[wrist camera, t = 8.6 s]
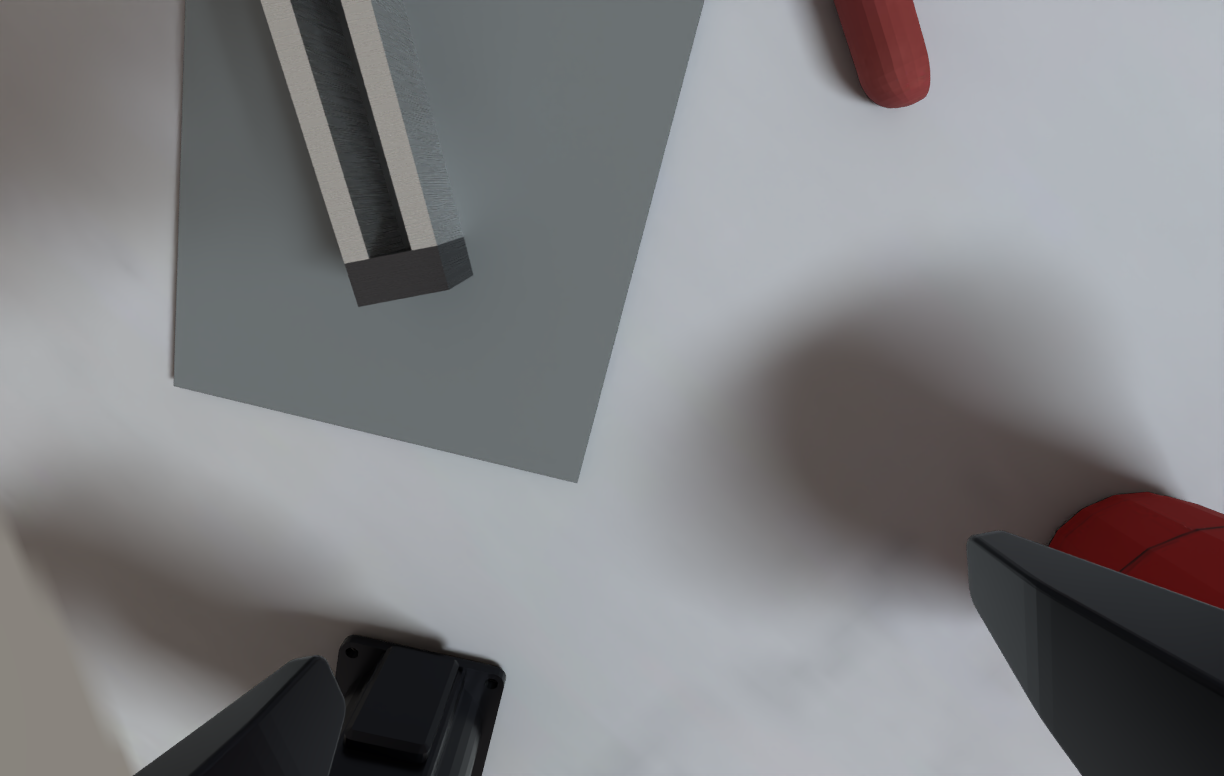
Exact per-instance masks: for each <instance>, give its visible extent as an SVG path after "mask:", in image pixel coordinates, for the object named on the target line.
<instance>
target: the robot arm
mask: <svg viewBox="0 0 1224 776" xmlns="http://www.w3.org/2000/svg"><path fill="white" fill-rule="evenodd" d="M967 562H968V577H969V589H970V594H971V598H972V601H973V603H974V605H975V607H976V609H977V611H978V613H979V615H980V616H981V618H982V620H983V621H984V623H985V625H986V626H987V628H988V630H989V632H990V633H991V635H992V637H993V638H994V640H995V642H996V644H997V645H998V647H999V649H1000V650H1001V652H1002V654H1003V656H1004V657H1005V659H1006V661H1007V662H1008V664H1009V666H1010V668H1011V669H1012V671H1013V673H1014V674H1015V676H1016V678H1017V680H1018V681H1019V683H1020V685H1021V686H1022V688H1023V690H1024V692H1025V693H1026V695H1027V697H1028V698H1029V700H1030V702H1031V703H1032V705H1033V706H1034V708H1035V710H1036V711H1037V713H1038V715H1039V716H1040V718H1041V719H1042V721H1043V722H1044V724H1045V725H1046V726H1047V728H1048V729H1049V731H1050V732H1051V734H1052V735H1053V736H1054V738H1055V739H1056V741H1057V742H1058V743H1059V745H1060V746H1061V747H1062V749H1063V750H1064V752H1065V753H1066V754H1067V756H1068V757H1069V758H1070V760H1071V761H1072V763H1073V764H1074V765H1075V767H1076V768H1077V769H1078V771H1079V772H1080V774H1081V775H1082V776H1224V610H1223V609H1221V608H1218V607H1215V606H1212V605H1209V604H1207V603H1204V602H1201V601H1198V600H1195V599H1193V598H1190V597H1187V596H1184V595H1181V594H1179V593H1176V592H1173V591H1170V590H1167V589H1165V588H1162V587H1159V586H1156V585H1153V584H1151V583H1148V582H1145V581H1142V580H1140V579H1137V578H1134V577H1131V576H1128V575H1126V574H1123V573H1120V572H1117V571H1114V570H1112V569H1109V568H1106V567H1103V566H1100V565H1098V564H1095V563H1092V562H1089V561H1086V560H1084V559H1081V558H1078V557H1075V556H1072V555H1070V554H1067V553H1064V552H1061V551H1058V550H1056V549H1053V548H1050V547H1047V546H1044V545H1042V544H1039V543H1036V542H1033V541H1031V540H1028V539H1025V538H1022V537H1019V536H1017V535H1014V534H1011V533H1008V532H1005V531H993V532H987V533H982V534H977V535H972V536H971V537H970V538H969V539H968V541H967ZM352 648H355V649H356V650H357V651H355V650H353V649H352ZM489 679H494V680H496V681H491V680H489ZM505 680H506V674H505V672H504V671H503V670H502V669H501V668H499V667H496V666H492V665H488V664H483V663H479V662H474V661H470V660H465V659H461V658H456V657H452V656H447V655H443V654H438V653H434V652H429V651H425V650H420V649H416V648H412V647H407V646H403V645H398V644H394V643H389V642H385V641H380V640H376V639H371V638H367V637H362V636H358V635H352V636H348V637H347V638H346V639H345V640H344V642H343V644H342V645H341V647H340V649H339V655H338V662H337V669H336V677H334V675H333V672H332V670H331V668H330V666H329V664H328V662H327V660H326V659H325V658H324V657H322V656H319V655H314V656H309V657H303V658H298V659H294V660H291V661H290V662H288V663H287V664H285V665H284V666H283V667H281V668H280V669H279V670H277V671H276V672H274V673H273V674H272V675H270V676H269V677H268V678H266V679H265V680H263V681H262V682H261V683H259V684H258V685H257V686H255V687H254V688H253V689H251V690H250V691H248V692H247V693H246V694H244V695H243V696H242V697H240V698H239V699H237V700H236V701H235V702H233V703H232V704H231V705H229V706H228V707H227V708H225V709H224V710H222V711H221V712H220V713H218V714H217V715H216V716H214V717H213V718H211V719H210V720H209V721H207V722H206V723H205V724H203V725H202V726H201V727H199V728H198V729H196V730H195V731H194V732H192V733H191V734H190V735H188V736H187V737H185V738H184V739H183V740H181V741H180V742H179V743H177V744H176V745H175V746H173V747H172V748H170V749H169V750H168V751H166V752H165V753H164V754H162V755H161V756H159V757H158V758H157V759H155V760H154V761H153V762H151V763H150V764H149V765H147V766H146V767H144V768H143V769H142V770H140V771H139V772H138V773H136V774H135V775H133V776H482V772H483V768H484V764H485V760H486V756H487V752H488V748H489V744H490V740H491V736H492V732H493V728H494V724H495V720H496V716H497V712H498V708H499V704H500V700H501V696H502V692H503V688H504V684H505Z"/></svg>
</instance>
